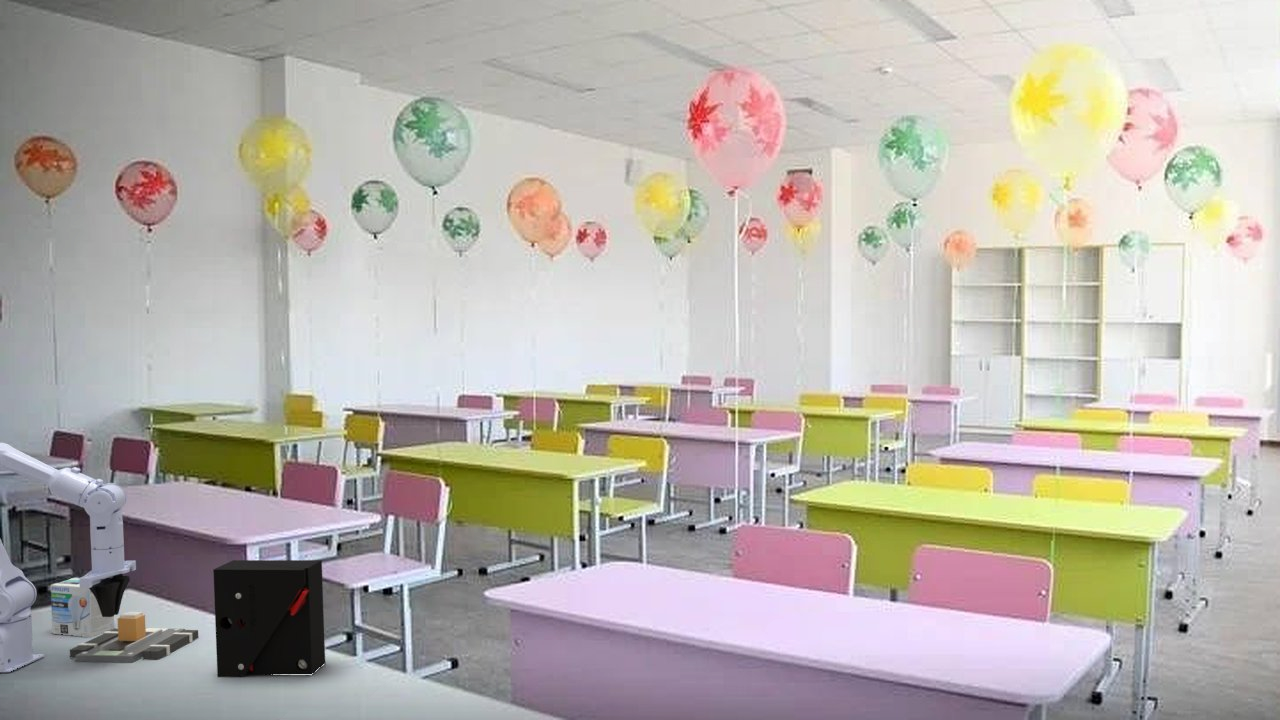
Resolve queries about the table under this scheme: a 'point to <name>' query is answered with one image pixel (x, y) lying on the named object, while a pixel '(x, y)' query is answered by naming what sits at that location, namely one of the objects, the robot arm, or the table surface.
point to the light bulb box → (76, 611)
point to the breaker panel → (125, 647)
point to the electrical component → (269, 617)
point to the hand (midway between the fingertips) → (110, 615)
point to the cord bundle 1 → (94, 642)
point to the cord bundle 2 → (170, 644)
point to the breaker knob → (131, 626)
